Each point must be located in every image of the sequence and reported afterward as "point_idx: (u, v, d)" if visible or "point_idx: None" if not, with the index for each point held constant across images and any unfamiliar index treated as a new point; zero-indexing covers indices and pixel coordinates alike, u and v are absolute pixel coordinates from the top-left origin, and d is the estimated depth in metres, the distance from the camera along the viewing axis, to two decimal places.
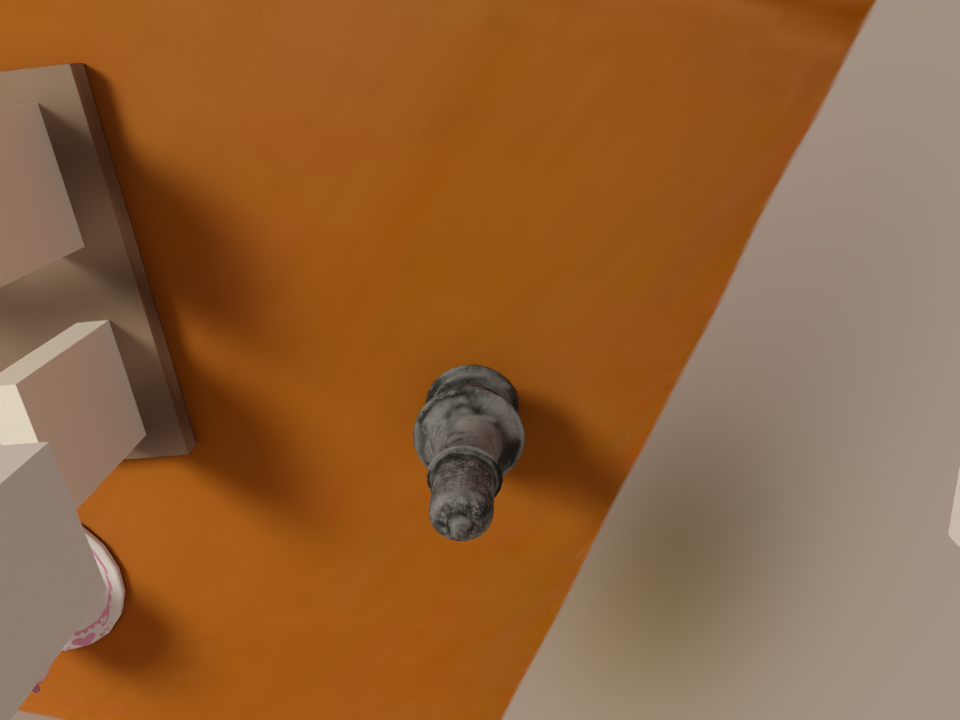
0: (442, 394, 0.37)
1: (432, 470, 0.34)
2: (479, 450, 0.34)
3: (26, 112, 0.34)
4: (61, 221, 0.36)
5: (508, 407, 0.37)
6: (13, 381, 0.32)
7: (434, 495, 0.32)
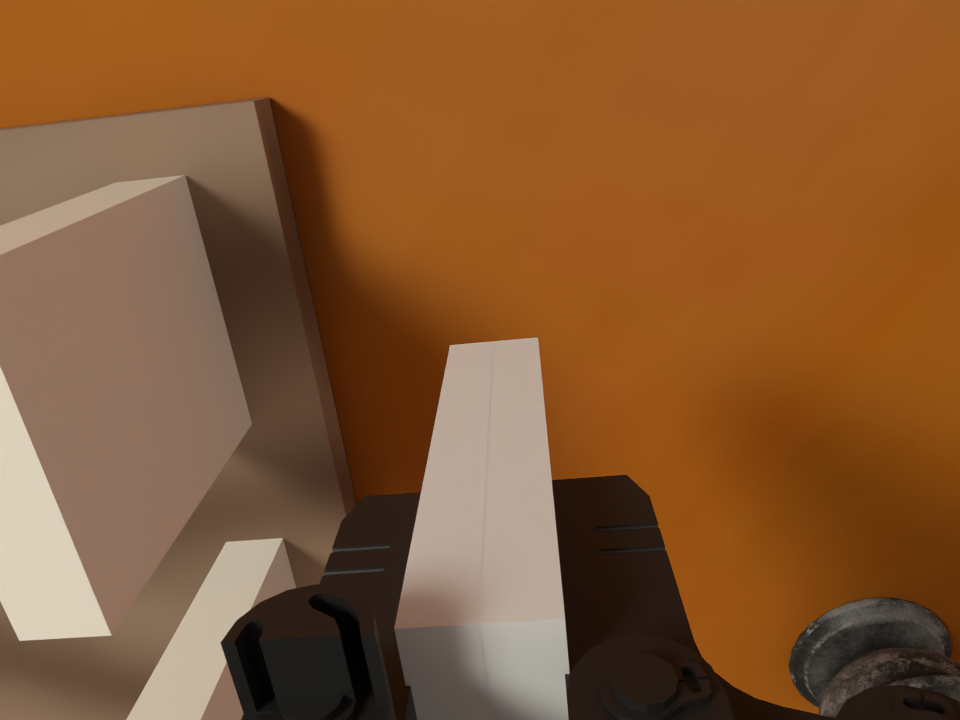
0: None
1: None
2: None
3: (170, 197, 0.17)
4: (222, 394, 0.19)
5: None
6: None
7: None
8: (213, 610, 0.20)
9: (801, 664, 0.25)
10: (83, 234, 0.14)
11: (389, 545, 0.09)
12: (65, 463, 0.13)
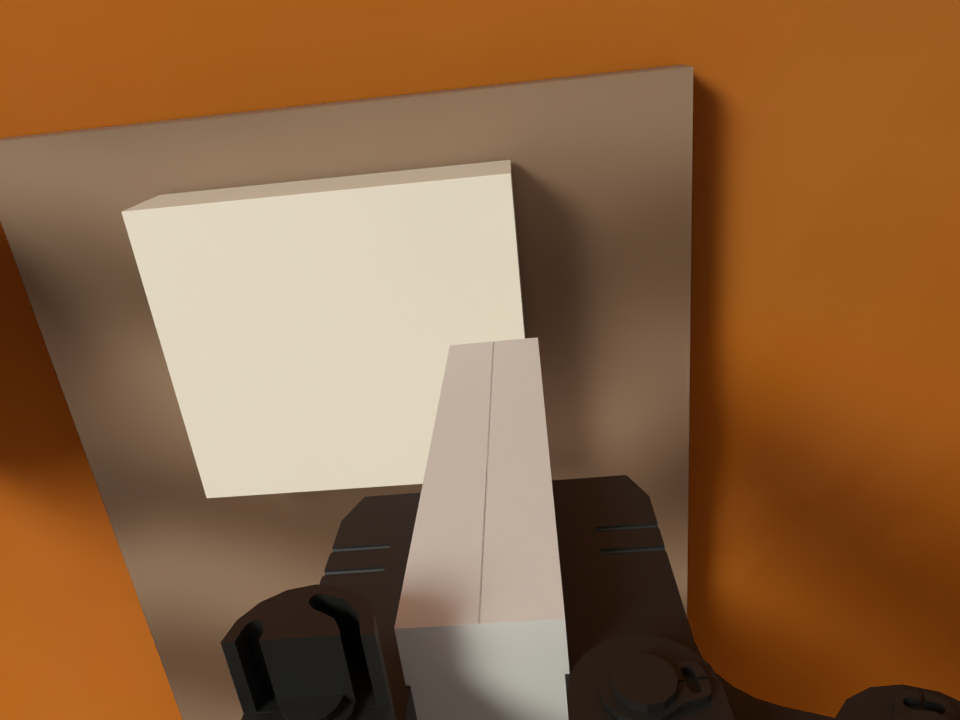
0: None
1: None
2: None
3: (458, 195, 0.15)
4: None
5: None
6: None
7: None
8: None
9: None
10: (274, 209, 0.15)
11: (389, 545, 0.09)
12: (192, 370, 0.16)
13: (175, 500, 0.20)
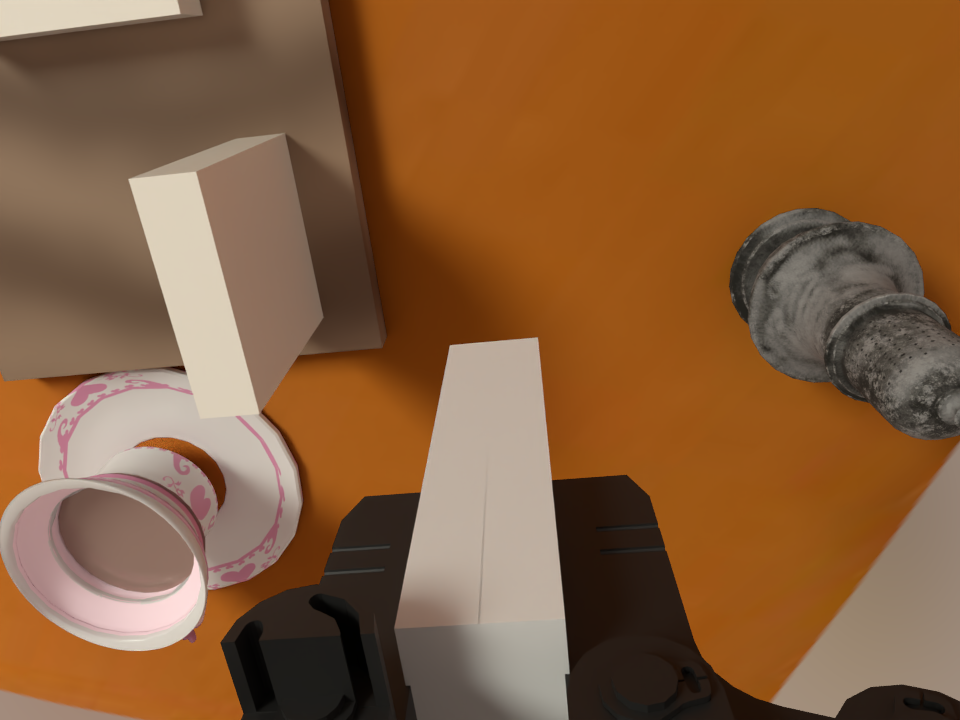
0: (810, 233, 0.24)
1: (841, 336, 0.21)
2: (925, 301, 0.21)
3: None
4: None
5: (909, 254, 0.24)
6: (189, 170, 0.19)
7: (896, 361, 0.19)
8: (226, 148, 0.23)
9: (739, 281, 0.28)
10: None
11: (389, 545, 0.09)
12: None
13: None
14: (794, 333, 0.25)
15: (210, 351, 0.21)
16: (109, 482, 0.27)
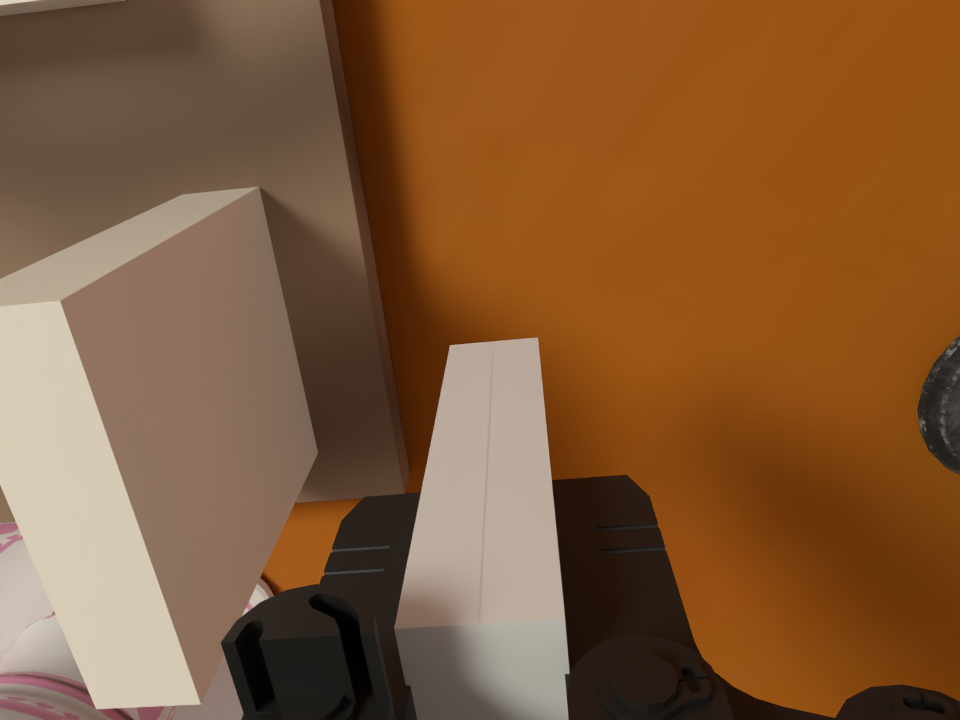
0: None
1: None
2: None
3: None
4: None
5: None
6: (51, 295, 0.10)
7: None
8: (156, 220, 0.14)
9: (935, 403, 0.19)
10: None
11: (389, 545, 0.09)
12: None
13: None
14: None
15: (107, 608, 0.11)
16: (1, 708, 0.17)
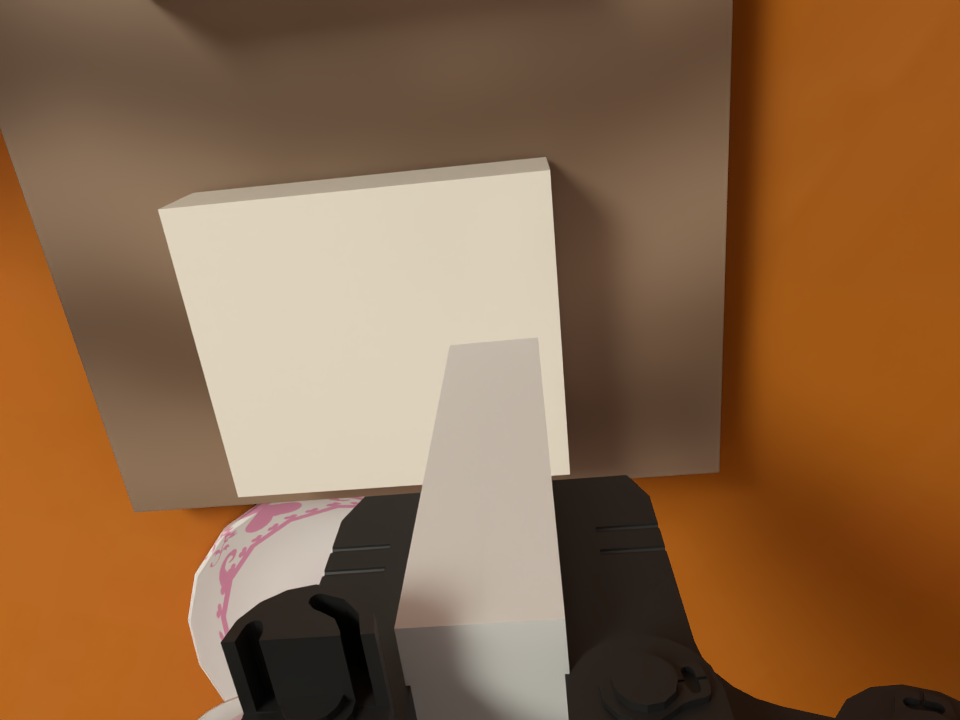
0: None
1: None
2: None
3: None
4: None
5: None
6: (179, 204, 0.15)
7: None
8: (406, 176, 0.15)
9: None
10: None
11: (389, 545, 0.09)
12: None
13: (74, 72, 0.16)
14: None
15: None
16: None
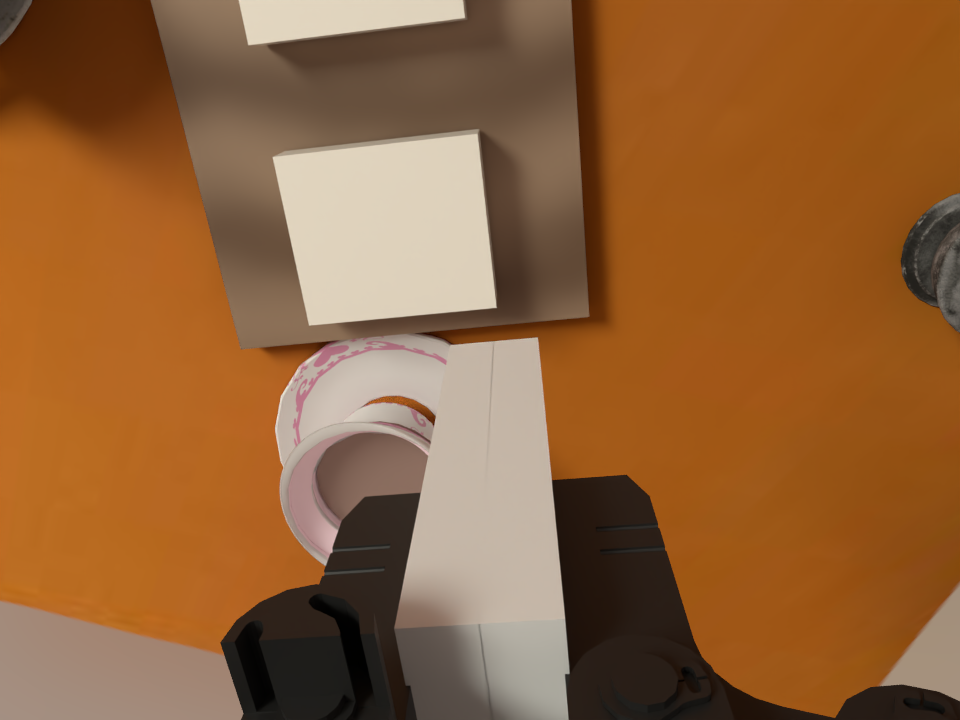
0: None
1: None
2: None
3: None
4: None
5: None
6: (282, 154, 0.29)
7: None
8: (403, 139, 0.29)
9: (911, 255, 0.32)
10: None
11: (389, 545, 0.09)
12: None
13: (223, 85, 0.29)
14: None
15: None
16: (387, 425, 0.30)
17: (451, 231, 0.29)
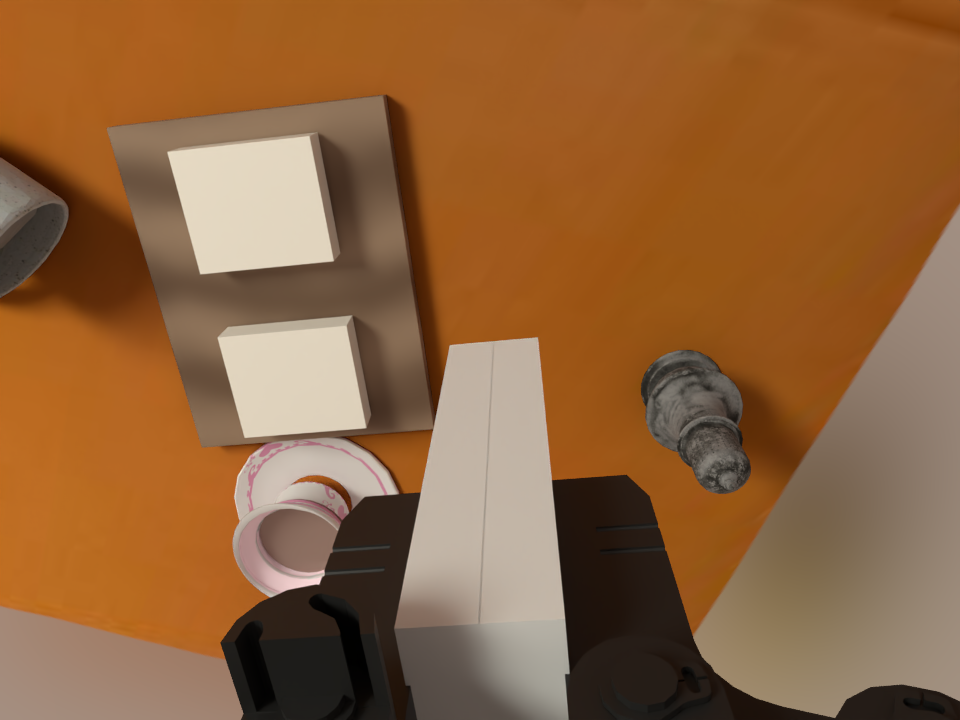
0: (676, 374, 0.44)
1: (684, 437, 0.41)
2: (726, 419, 0.41)
3: (291, 144, 0.40)
4: (307, 236, 0.42)
5: (732, 385, 0.44)
6: (224, 335, 0.45)
7: (701, 455, 0.39)
8: (302, 324, 0.45)
9: (646, 390, 0.48)
10: (224, 150, 0.40)
11: (389, 545, 0.09)
12: (194, 216, 0.41)
13: (186, 287, 0.45)
14: (669, 428, 0.44)
15: None
16: (301, 505, 0.46)
17: (333, 382, 0.45)
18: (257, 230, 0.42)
